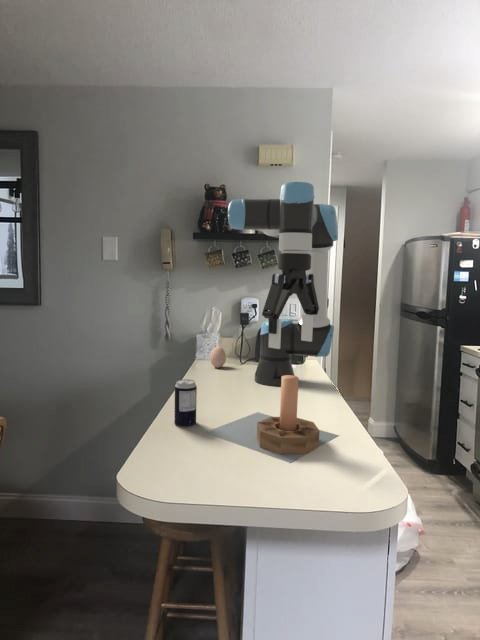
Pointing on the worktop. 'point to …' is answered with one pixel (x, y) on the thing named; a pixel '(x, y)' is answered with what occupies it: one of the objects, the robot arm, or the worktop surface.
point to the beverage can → (185, 403)
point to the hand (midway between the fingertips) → (291, 344)
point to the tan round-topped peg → (288, 403)
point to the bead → (287, 437)
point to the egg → (218, 357)
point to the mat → (246, 435)
